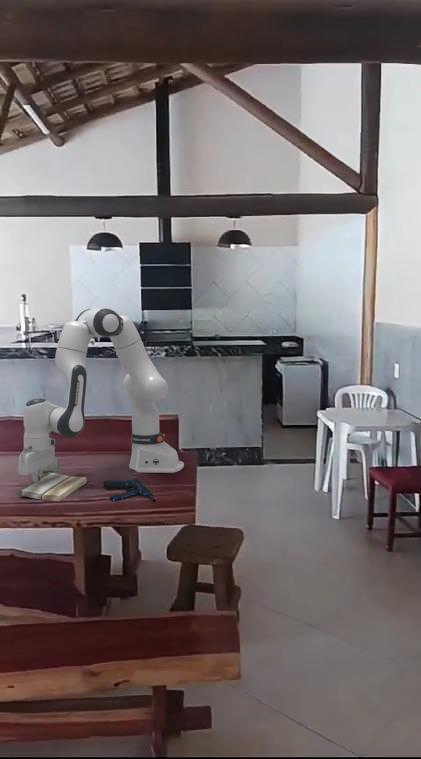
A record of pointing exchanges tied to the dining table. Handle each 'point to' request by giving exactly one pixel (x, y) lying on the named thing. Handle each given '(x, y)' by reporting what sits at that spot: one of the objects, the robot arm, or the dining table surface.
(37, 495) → the board
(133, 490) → the gun
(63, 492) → the thin beige board
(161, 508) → the dining table surface
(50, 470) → the stone slab
